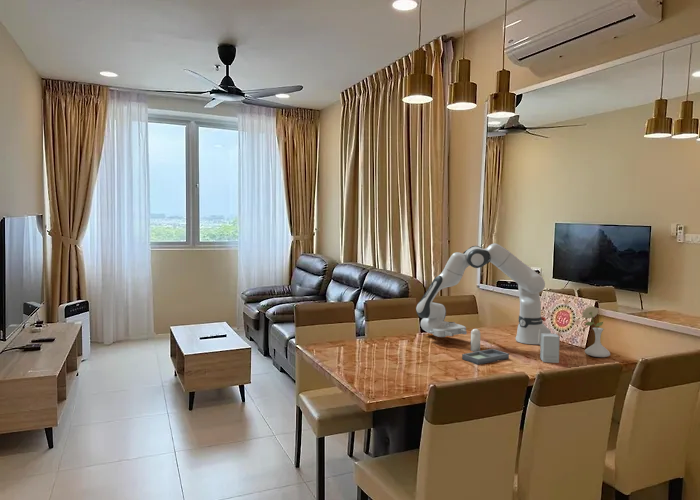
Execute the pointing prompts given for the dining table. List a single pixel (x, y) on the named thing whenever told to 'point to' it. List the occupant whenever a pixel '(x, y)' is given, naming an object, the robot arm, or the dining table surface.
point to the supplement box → (549, 347)
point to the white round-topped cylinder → (475, 340)
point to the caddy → (485, 356)
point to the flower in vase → (597, 347)
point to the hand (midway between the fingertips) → (459, 333)
